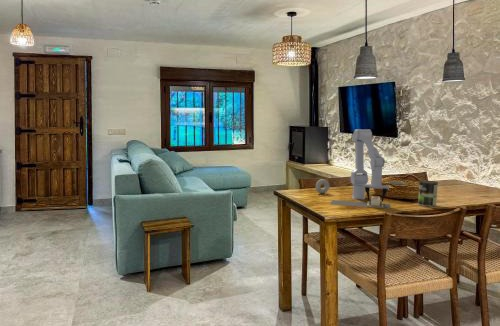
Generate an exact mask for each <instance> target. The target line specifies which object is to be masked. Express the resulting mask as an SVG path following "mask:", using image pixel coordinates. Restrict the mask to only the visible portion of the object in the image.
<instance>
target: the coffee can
mask: <svg viewBox="0 0 500 326" xmlns="http://www.w3.org/2000/svg"><path fill="white" fill-rule="evenodd" d="M418 184H419V185H418V199H417V200H418V201H417V205H418V204H419V205H418V206H420V205H422V206H421V207H425V206H435V207H437V201H438V200H437V199H438V198H437V197H438V187H439V185H438V184H439V182H438V181H435V180H423V179H422V180H419V181H418Z"/></svg>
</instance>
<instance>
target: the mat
mask: <svg viewBox="0 0 500 326" xmlns="http://www.w3.org/2000/svg"><path fill="white" fill-rule="evenodd" d="M367 202H368V201H366V202H365V201H351V200H350V201H349V200H338V199H332V200H331V202H330V205H335V206H345V207H346V206H348V207H349V206H352V207H359V208H360V207H362V208H368V207H367ZM369 205H371V203H369ZM380 206H382V204H380ZM391 207H392V205H391V203H383V208H382V209H387V210H390V209H391ZM373 208H375V207H373ZM375 209H376V208H375Z"/></svg>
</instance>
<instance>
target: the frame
mask: <svg viewBox="0 0 500 326" xmlns="http://www.w3.org/2000/svg"><path fill="white" fill-rule="evenodd" d="M366 202H367V207H366V208H374V207H375V209H376V208H377V209H384V208H383V204H384V201H383V202H382V201H380V204H382V206H376V205H369V203H371V200H369V201H366Z"/></svg>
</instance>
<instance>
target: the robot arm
mask: <svg viewBox="0 0 500 326" xmlns="http://www.w3.org/2000/svg"><path fill="white" fill-rule="evenodd" d="M352 134H353V135H352V136H353V138H352V141H353V143H355V144H354V146H355V147H354V148H355V149H354V150H355V151H354V152H355V155H354V156H355V163H354V164H355V169H354V170H352V171H351V174H350V183H351V184H352V196H351V199H354V200H366V195H367V200H368V201H370V189H377V190H382V195H381V202H383V203H384V198H385V196H386V194H387V193H388V192H387V189H388V190H389V186H387V185H385V184H384V185H383V184H382V178H383V177H382V176H383V167H384V166H385V164H386V163H385V158H384V157H383V156H382V155H381V154H380V153H379V151H378V149H377V147H375V146H374V143H373V140H372V137H373V132H372V130H371V129H370V128H369V129H358V128H357V129H354V131H353V133H352ZM364 145H365V146H366V148H367V154H368V157H369V159H370V161H369V164H370V170H371V179H370V180H371V181H370V183H371V184H369V183H368V182H369V176H368V172H367V171H366V170H365V167H364V166H365V163H364V160H365V158H364ZM365 193H366V195H365ZM368 201H367V202H368Z"/></svg>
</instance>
